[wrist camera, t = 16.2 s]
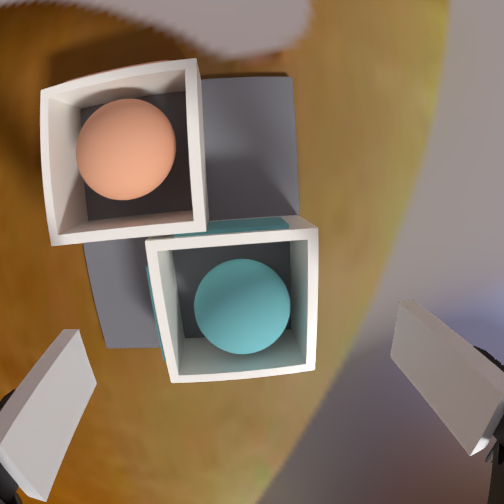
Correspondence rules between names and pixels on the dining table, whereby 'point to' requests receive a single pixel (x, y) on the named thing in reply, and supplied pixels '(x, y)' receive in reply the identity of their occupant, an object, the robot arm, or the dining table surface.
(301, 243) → the white square bin
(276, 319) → the ball teal
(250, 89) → the mat
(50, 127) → the white square box
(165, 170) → the ball terracotta
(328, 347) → the dining table surface
